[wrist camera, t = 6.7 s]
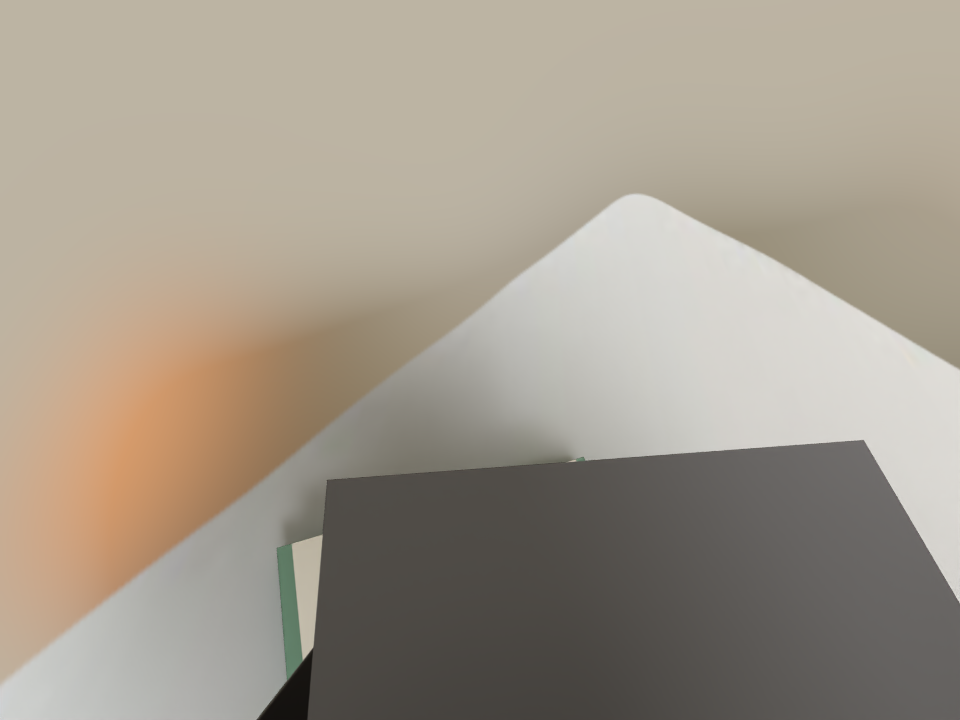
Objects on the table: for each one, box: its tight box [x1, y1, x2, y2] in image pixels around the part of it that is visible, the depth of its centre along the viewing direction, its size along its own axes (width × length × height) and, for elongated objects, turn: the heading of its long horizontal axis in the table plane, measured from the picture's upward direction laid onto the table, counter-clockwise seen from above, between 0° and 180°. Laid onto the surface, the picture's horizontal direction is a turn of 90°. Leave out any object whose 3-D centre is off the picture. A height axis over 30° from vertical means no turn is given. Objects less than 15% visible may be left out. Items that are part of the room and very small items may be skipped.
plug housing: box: [307, 440, 960, 720], centre depth 7 cm, size 4×4×11 cm
